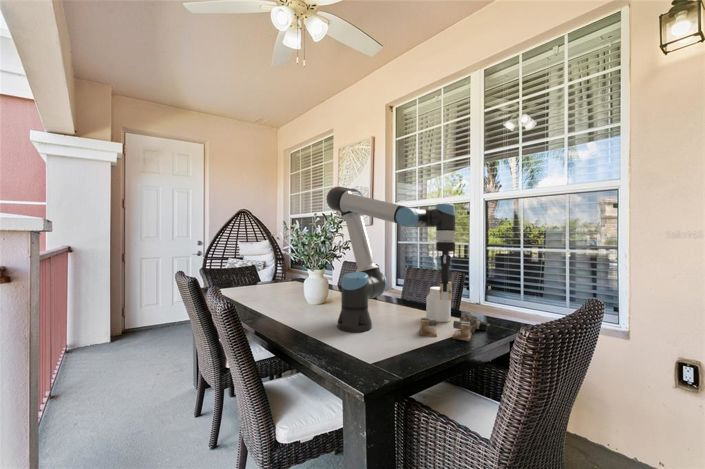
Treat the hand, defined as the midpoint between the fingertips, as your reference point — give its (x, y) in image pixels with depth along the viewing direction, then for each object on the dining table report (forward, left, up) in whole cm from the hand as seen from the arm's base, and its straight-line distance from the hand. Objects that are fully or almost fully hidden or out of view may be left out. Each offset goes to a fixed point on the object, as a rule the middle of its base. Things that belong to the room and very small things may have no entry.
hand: (445, 298), depth 134 cm
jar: (-4, +23, -15) cm, 28 cm away
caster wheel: (+11, +12, -15) cm, 23 cm away
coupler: (0, 0, 0) cm, 0 cm away
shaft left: (-6, 0, -15) cm, 16 cm away
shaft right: (+7, 0, -15) cm, 16 cm away
